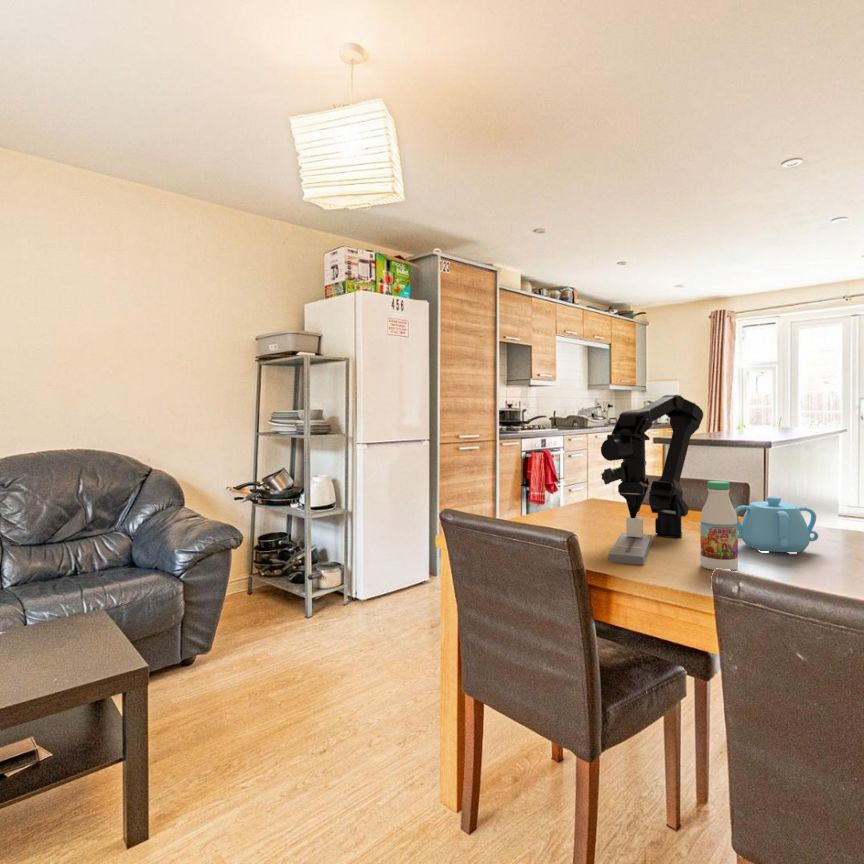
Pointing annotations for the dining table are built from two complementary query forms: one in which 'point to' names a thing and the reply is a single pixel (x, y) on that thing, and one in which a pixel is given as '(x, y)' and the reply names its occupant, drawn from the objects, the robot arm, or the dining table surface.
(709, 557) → the milk bottle
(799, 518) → the decorative pot
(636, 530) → the fader cap
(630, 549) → the console
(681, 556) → the dining table surface
